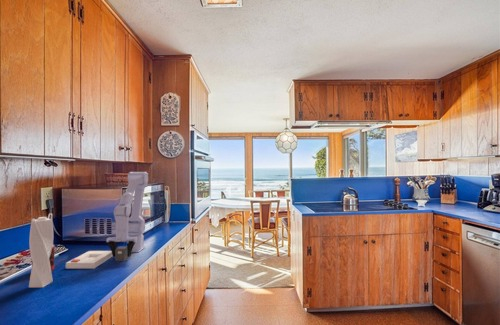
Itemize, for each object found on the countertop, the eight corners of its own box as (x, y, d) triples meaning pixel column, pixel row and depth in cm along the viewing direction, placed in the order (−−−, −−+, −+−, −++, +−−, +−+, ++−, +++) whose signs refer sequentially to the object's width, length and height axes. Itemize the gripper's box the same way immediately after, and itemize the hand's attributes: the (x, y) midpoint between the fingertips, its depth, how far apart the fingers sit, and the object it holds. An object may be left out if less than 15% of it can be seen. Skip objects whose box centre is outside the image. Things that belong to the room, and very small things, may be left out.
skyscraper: (58, 280, 110) (59, 211, 111) (45, 288, 103) (46, 214, 103) (38, 280, 110) (39, 211, 111) (23, 288, 102) (24, 215, 103)
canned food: (28, 272, 119) (28, 247, 119) (48, 266, 126) (49, 243, 126) (37, 275, 115) (37, 249, 115) (57, 269, 122) (58, 245, 122)
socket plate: (89, 255, 141) (89, 249, 141) (113, 255, 141) (113, 249, 141) (65, 268, 123) (65, 261, 123) (94, 268, 123) (94, 261, 123)
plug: (121, 256, 140) (121, 245, 140) (130, 256, 140) (130, 245, 140) (115, 261, 133) (115, 249, 133) (124, 261, 133) (124, 249, 133)
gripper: (103, 231, 132) (103, 259, 131) (133, 230, 132) (132, 258, 132) (110, 227, 139) (110, 254, 138) (139, 227, 139) (138, 254, 139)
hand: (121, 256), depth 135 cm, fingers open, 7 cm apart
